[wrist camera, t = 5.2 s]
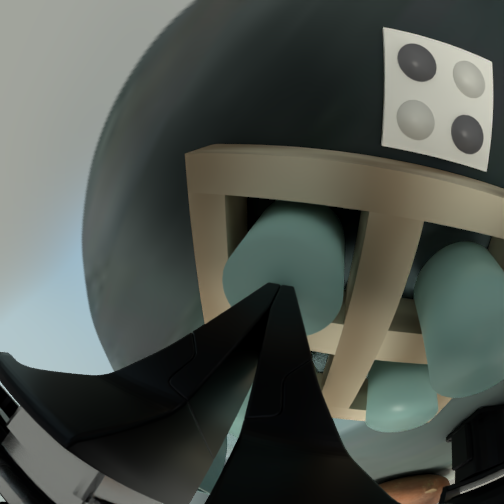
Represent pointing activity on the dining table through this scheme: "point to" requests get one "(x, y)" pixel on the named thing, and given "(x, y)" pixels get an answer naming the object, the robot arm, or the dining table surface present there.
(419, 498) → the ceramic jug
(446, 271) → the button
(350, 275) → the board
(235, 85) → the dining table surface
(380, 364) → the button
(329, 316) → the button
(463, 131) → the card
